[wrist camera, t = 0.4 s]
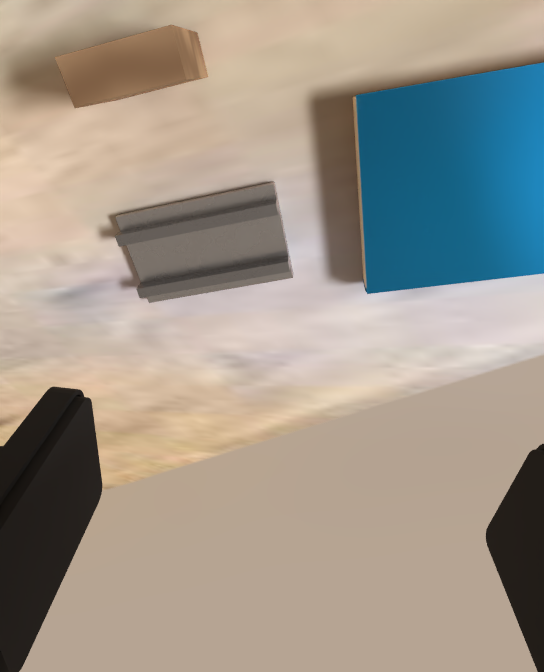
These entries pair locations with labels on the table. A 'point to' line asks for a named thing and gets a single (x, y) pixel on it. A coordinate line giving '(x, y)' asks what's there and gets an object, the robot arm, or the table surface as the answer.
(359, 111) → the book
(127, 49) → the door panel
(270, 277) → the floor track
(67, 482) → the robot arm
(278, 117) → the table surface
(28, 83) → the table surface
